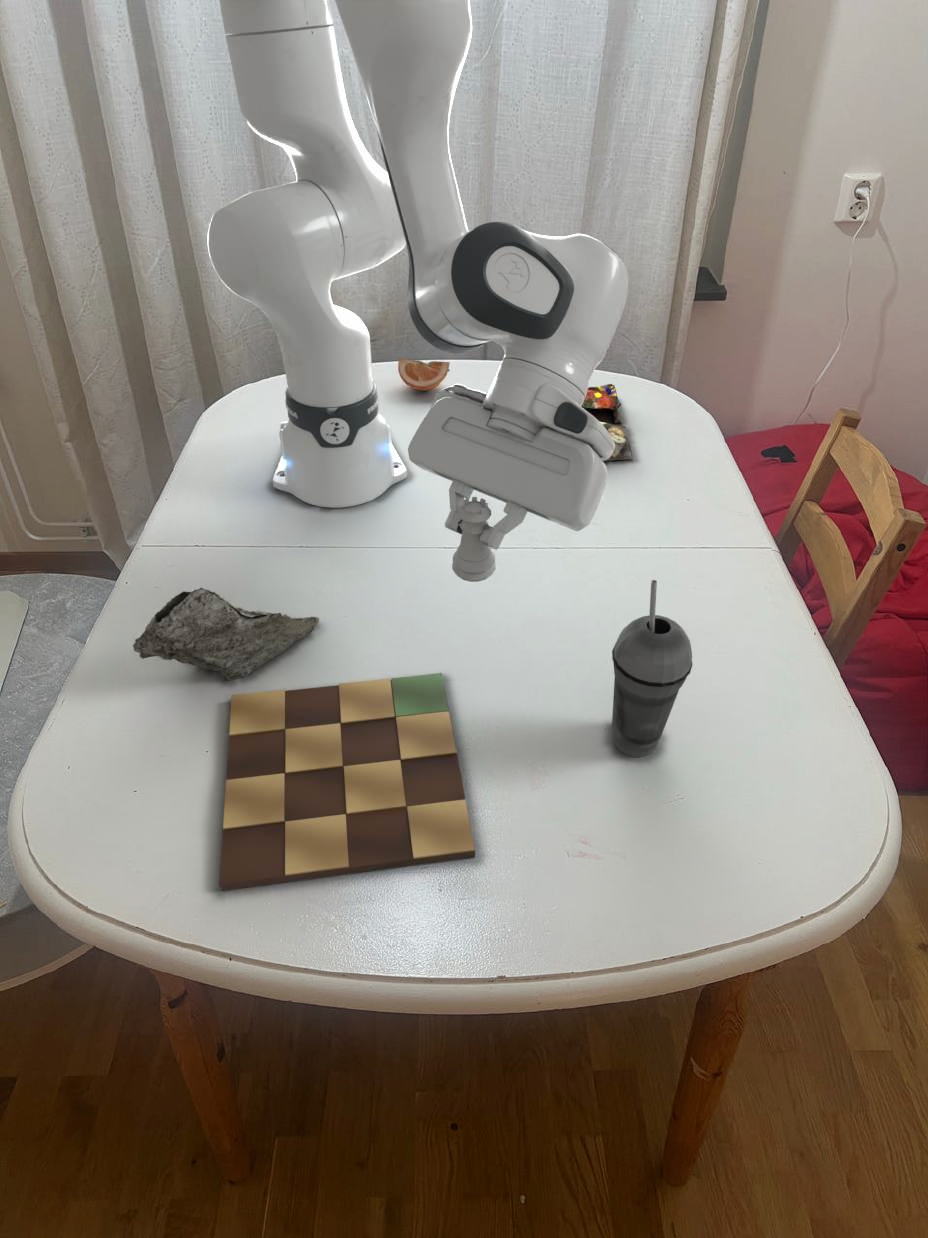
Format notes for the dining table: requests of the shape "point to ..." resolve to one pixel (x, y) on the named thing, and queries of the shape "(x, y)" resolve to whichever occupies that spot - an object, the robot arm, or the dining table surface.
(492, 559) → the rook chess piece
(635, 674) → the beverage cup
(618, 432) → the food
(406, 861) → the board
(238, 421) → the dining table surface
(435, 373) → the fruit slice
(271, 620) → the concrete fragment
